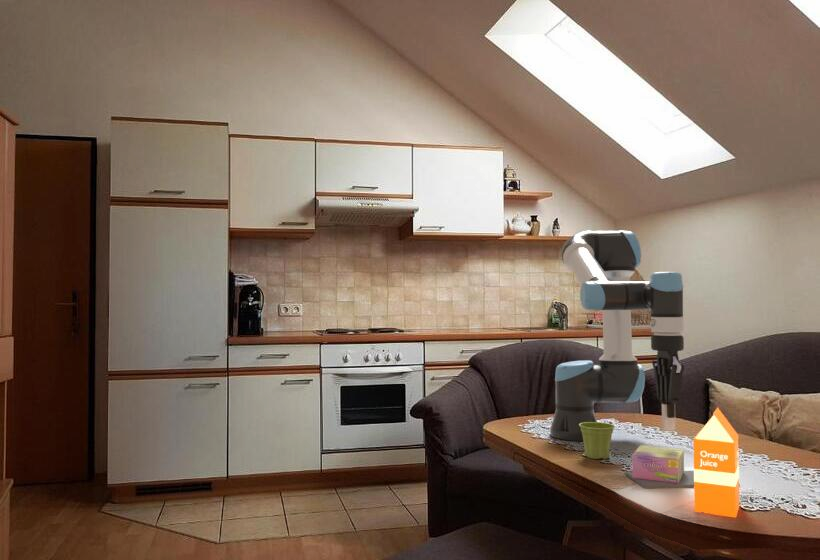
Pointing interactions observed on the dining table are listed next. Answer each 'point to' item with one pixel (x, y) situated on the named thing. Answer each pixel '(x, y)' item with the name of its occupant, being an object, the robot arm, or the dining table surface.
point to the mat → (685, 481)
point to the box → (658, 464)
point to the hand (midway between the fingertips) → (668, 430)
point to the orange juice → (716, 468)
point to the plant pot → (596, 439)
